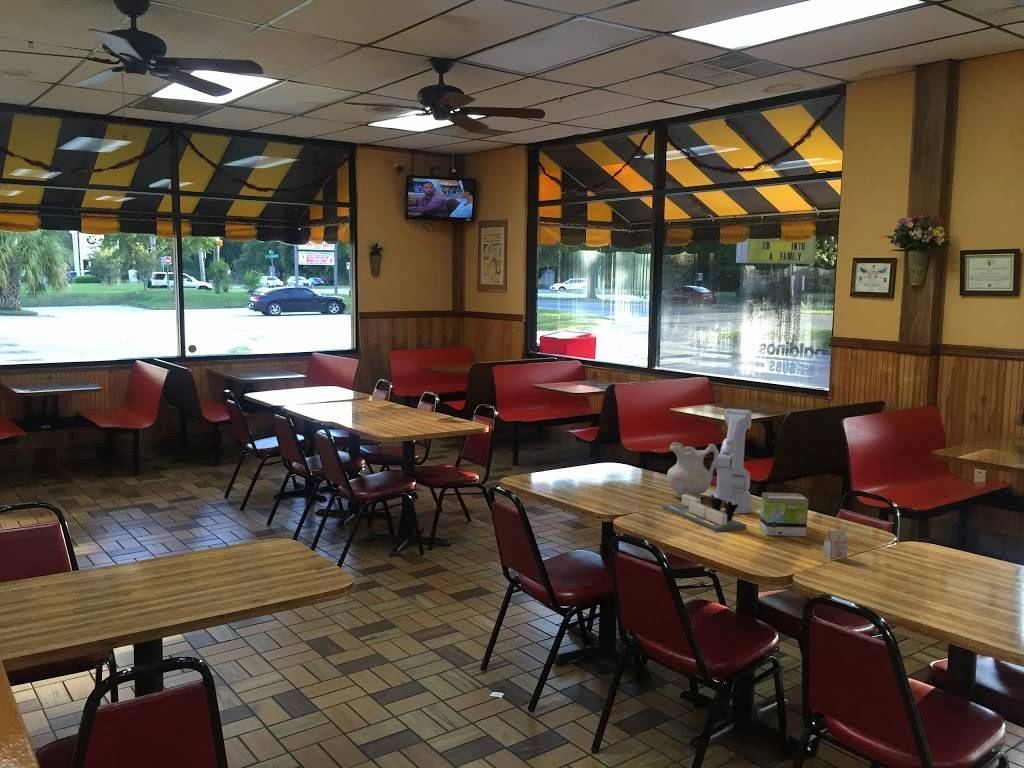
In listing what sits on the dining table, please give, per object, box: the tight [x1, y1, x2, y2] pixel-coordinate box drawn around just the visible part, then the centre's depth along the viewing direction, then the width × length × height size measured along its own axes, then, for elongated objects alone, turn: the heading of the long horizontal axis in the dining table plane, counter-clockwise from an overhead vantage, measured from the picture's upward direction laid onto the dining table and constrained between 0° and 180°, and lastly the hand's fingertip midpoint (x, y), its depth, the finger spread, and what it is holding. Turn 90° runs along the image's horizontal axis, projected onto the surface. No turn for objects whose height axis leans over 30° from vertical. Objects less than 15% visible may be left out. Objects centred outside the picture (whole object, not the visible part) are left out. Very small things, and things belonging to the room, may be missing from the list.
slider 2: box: [689, 501, 710, 518], centre depth 346 cm, size 2×10×5 cm, turn 24°
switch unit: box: [662, 503, 747, 533], centre depth 347 cm, size 14×36×2 cm, turn 24°
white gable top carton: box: [822, 528, 849, 559], centre depth 299 cm, size 4×7×10 cm, turn 107°
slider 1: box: [681, 494, 702, 507], centre depth 358 cm, size 2×10×5 cm, turn 24°
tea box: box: [758, 492, 809, 537], centre depth 328 cm, size 15×10×15 cm, turn 92°
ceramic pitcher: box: [666, 441, 720, 500], centre depth 382 cm, size 22×20×25 cm
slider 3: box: [706, 507, 727, 525], centre depth 336 cm, size 2×10×5 cm, turn 24°
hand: (722, 518), depth 337 cm, fingers open, 7 cm apart
